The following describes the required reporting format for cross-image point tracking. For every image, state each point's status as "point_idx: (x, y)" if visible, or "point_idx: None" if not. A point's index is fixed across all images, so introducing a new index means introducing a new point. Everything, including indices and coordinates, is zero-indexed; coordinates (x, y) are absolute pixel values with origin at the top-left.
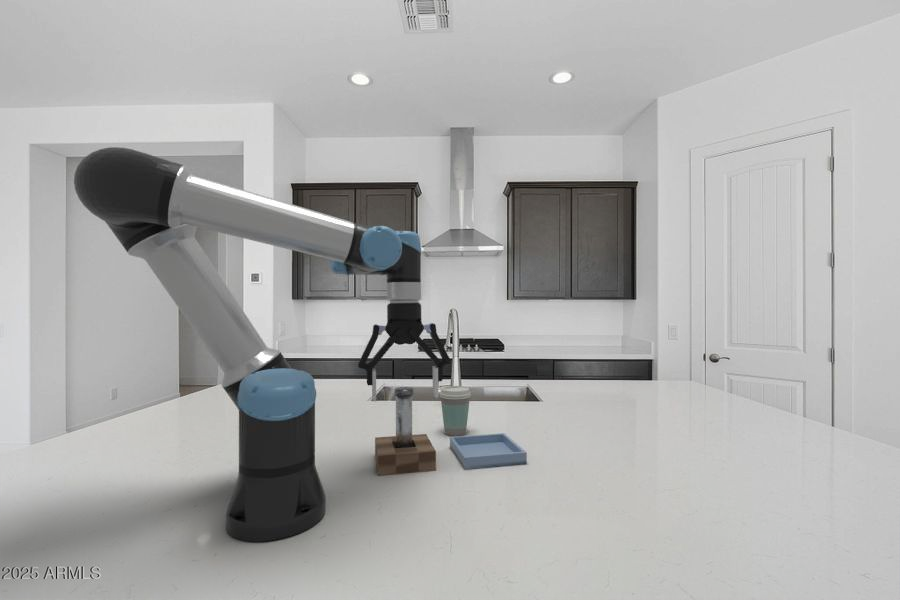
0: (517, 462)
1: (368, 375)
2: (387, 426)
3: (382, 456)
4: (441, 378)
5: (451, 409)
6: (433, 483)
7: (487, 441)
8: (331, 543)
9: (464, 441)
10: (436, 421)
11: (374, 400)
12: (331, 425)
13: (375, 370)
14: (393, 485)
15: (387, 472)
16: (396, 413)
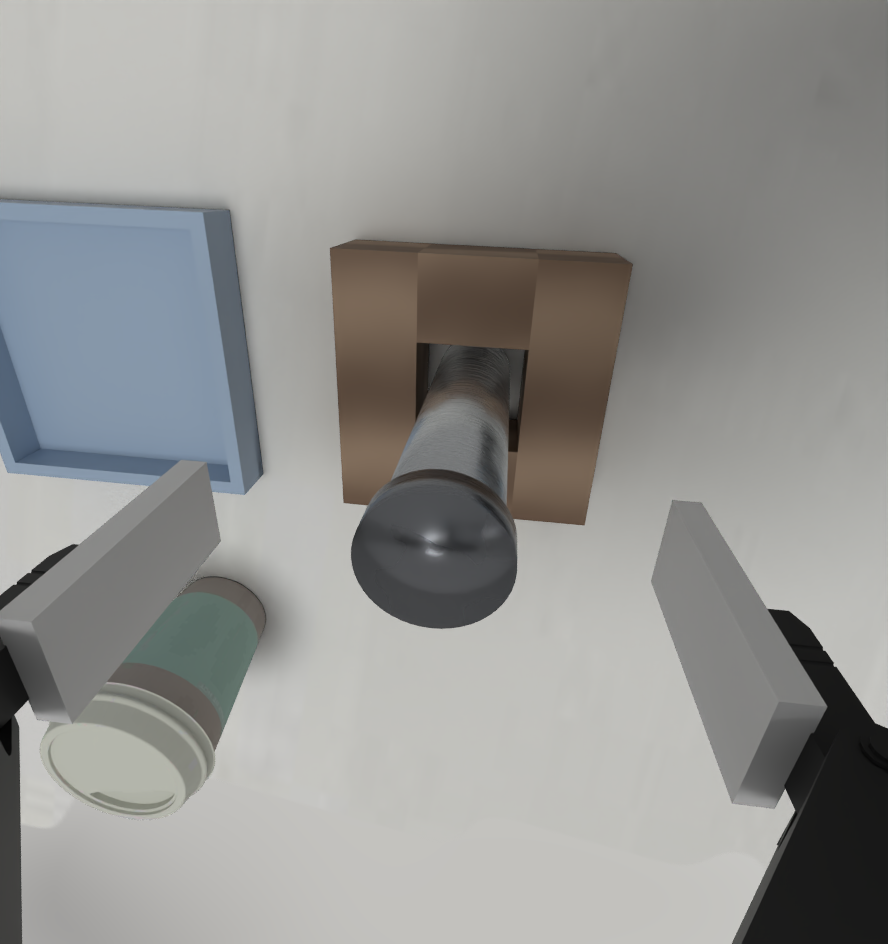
0: None
1: (834, 690)
2: (469, 739)
3: (608, 262)
4: (55, 559)
5: (186, 658)
6: (389, 82)
7: (99, 457)
8: None
9: None
10: (282, 731)
11: (689, 506)
12: (671, 806)
13: (767, 734)
14: (573, 112)
15: (573, 252)
16: (506, 459)
